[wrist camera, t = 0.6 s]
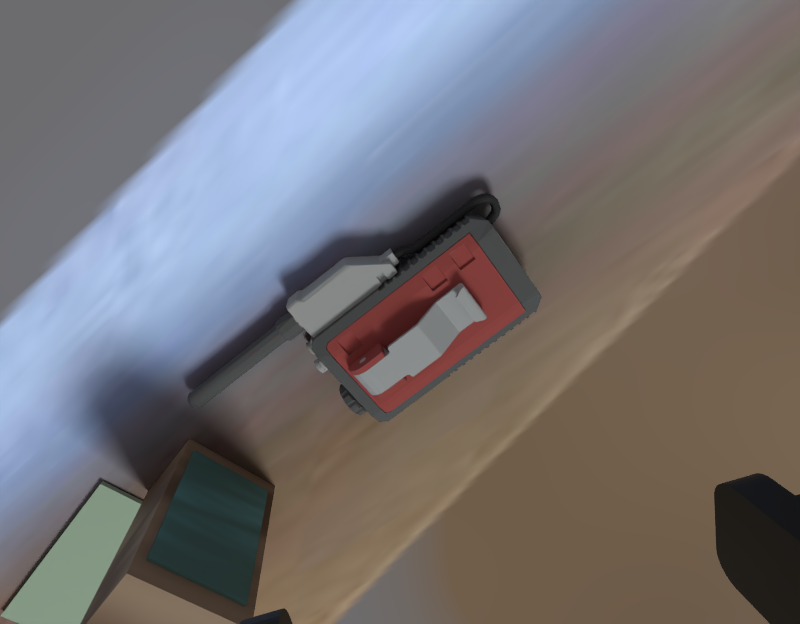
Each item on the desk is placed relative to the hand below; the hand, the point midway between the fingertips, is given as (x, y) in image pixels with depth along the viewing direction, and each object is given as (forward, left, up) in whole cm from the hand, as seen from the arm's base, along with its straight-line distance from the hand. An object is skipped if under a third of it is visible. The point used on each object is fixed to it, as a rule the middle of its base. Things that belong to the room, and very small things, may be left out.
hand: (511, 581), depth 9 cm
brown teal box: (+17, 0, -21) cm, 27 cm away
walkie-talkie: (+3, +1, -22) cm, 22 cm away
